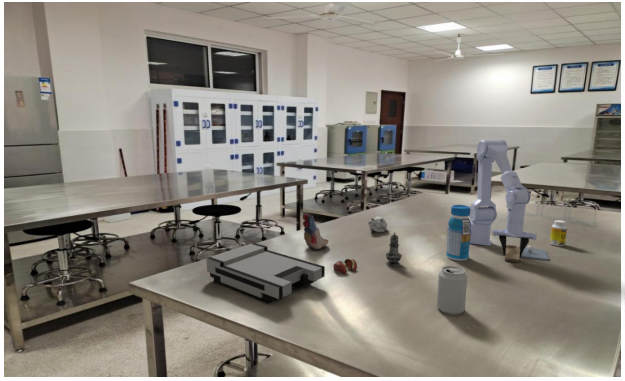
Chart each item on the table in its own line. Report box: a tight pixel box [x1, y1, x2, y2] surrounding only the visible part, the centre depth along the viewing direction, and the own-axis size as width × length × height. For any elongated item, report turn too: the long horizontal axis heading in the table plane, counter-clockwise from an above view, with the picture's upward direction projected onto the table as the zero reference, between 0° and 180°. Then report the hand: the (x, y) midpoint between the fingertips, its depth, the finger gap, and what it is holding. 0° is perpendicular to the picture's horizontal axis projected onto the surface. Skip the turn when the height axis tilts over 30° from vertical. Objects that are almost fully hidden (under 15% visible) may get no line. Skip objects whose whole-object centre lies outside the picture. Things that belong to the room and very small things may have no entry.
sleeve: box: [504, 243, 520, 263], centre depth 151 cm, size 5×5×5 cm
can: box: [436, 265, 468, 316], centre depth 111 cm, size 8×8×12 cm
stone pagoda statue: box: [385, 232, 403, 268], centre depth 146 cm, size 6×6×12 cm
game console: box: [205, 242, 326, 305], centre depth 129 cm, size 21×32×8 cm, turn 51°
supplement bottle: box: [549, 219, 568, 247], centre depth 170 cm, size 6×6×10 cm
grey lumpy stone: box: [367, 216, 388, 233], centre depth 188 cm, size 8×9×12 cm
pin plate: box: [521, 245, 550, 262], centre depth 159 cm, size 12×12×3 cm
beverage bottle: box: [445, 204, 471, 262], centre depth 153 cm, size 8×8×20 cm
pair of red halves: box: [332, 258, 358, 275], centre depth 141 cm, size 6×4×8 cm
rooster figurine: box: [302, 212, 329, 250], centre depth 164 cm, size 9×13×15 cm
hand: (511, 255), depth 151 cm, fingers closed on sleeve, 5 cm apart
